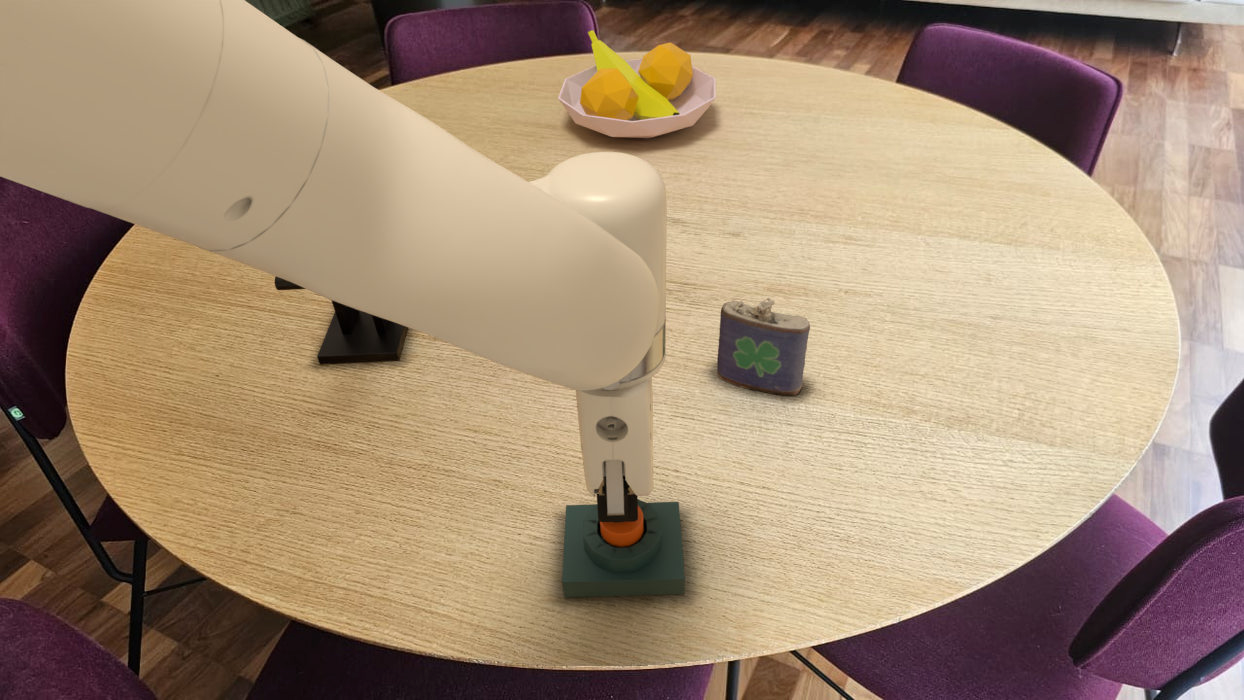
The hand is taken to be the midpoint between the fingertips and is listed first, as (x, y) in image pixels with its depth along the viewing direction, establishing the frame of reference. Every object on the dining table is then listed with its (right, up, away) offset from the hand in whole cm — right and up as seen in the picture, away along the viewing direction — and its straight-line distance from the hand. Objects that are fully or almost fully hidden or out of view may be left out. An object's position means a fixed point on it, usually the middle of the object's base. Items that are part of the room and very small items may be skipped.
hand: (618, 513), depth 66 cm
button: (0, -2, +2) cm, 2 cm away
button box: (0, -4, +4) cm, 6 cm away
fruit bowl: (+3, +53, +74) cm, 91 cm away
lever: (-30, +21, +17) cm, 41 cm away
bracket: (-30, +16, +30) cm, 45 cm away
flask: (+15, +10, +21) cm, 27 cm away
